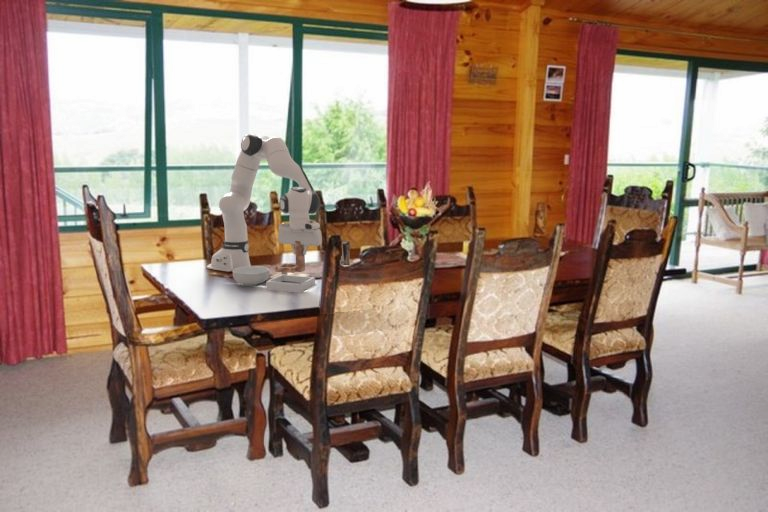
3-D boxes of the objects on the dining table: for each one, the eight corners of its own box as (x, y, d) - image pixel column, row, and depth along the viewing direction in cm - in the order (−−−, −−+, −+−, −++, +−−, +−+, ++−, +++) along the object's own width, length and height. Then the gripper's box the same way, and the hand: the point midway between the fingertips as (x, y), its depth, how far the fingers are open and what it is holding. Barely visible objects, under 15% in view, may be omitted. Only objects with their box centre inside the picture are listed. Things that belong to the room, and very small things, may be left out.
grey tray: (266, 289, 314) (266, 281, 313) (281, 282, 328) (281, 274, 327) (300, 292, 309) (300, 284, 308) (315, 285, 322) (315, 277, 322)
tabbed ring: (275, 271, 315) (274, 240, 312) (284, 267, 323) (283, 237, 320) (298, 273, 311) (297, 242, 308) (307, 269, 319) (306, 238, 316)
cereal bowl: (229, 281, 328) (229, 267, 327) (264, 278, 335) (264, 264, 333) (237, 290, 313) (236, 274, 312) (273, 286, 319) (273, 271, 318)
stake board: (268, 279, 333) (268, 265, 332) (281, 273, 346) (281, 260, 344) (299, 282, 328) (299, 268, 327) (311, 276, 340) (310, 262, 339)
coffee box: (345, 276, 340) (345, 244, 337) (332, 276, 342) (332, 243, 338) (350, 272, 349) (350, 241, 346) (337, 272, 350) (337, 240, 347)
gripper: (275, 223, 312) (276, 254, 314) (317, 226, 305) (317, 257, 308) (281, 221, 317) (282, 251, 320) (323, 224, 311) (323, 254, 314)
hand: (300, 254), depth 314 cm, fingers closed on tabbed ring, 2 cm apart
